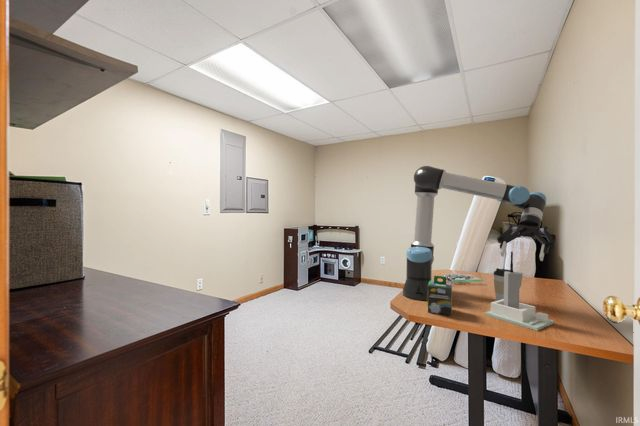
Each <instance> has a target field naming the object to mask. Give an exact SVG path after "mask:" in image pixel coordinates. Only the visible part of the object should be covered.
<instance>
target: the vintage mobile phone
mask: <svg viewBox="0 0 640 426" xmlns="http://www.w3.org/2000/svg"><path fill="white" fill-rule="evenodd" d="M513 254H514V252H513V251H510V266H509V268H510V269H509V270H510V272H508V271H505V272H504V305H505V306H508V307H512V308H516V309H519V303H520V289H521V287H522V281H523V273H521V272H519V271H514V262H513V260H514V259H513V258H514V257H513V256H514V255H513Z"/></svg>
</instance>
